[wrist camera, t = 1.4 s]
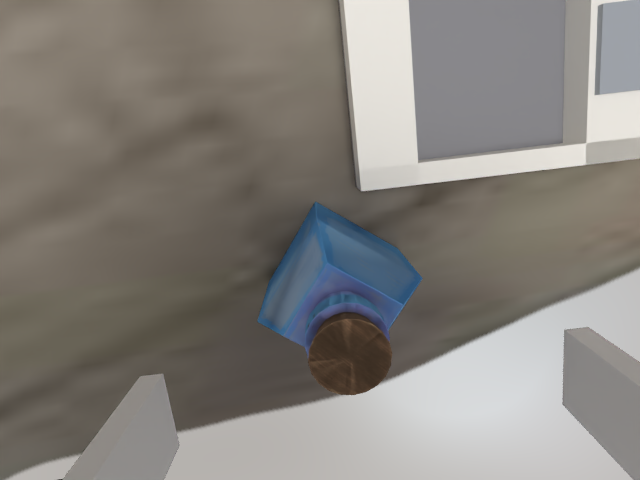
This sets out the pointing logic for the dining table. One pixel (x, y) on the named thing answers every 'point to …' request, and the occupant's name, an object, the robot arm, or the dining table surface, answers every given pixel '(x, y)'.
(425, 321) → the dining table surface
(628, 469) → the robot arm
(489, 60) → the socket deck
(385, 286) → the perfume bottle
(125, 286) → the dining table surface
